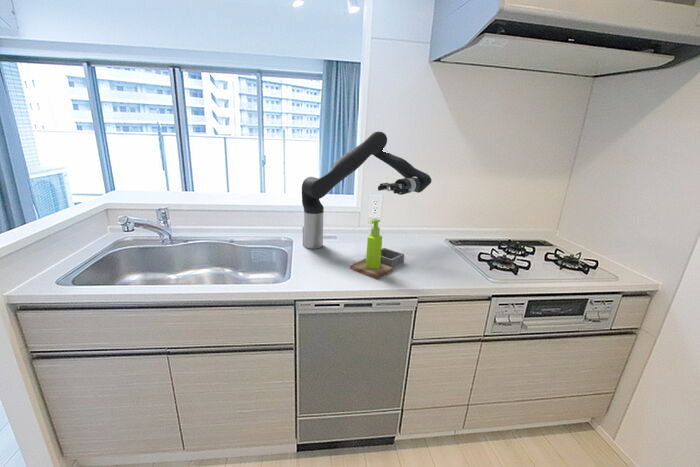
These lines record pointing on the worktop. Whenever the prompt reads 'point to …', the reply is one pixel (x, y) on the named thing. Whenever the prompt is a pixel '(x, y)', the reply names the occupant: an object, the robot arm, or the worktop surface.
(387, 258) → the tray
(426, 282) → the worktop surface
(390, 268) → the board
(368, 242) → the soap dispenser
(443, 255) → the worktop surface
